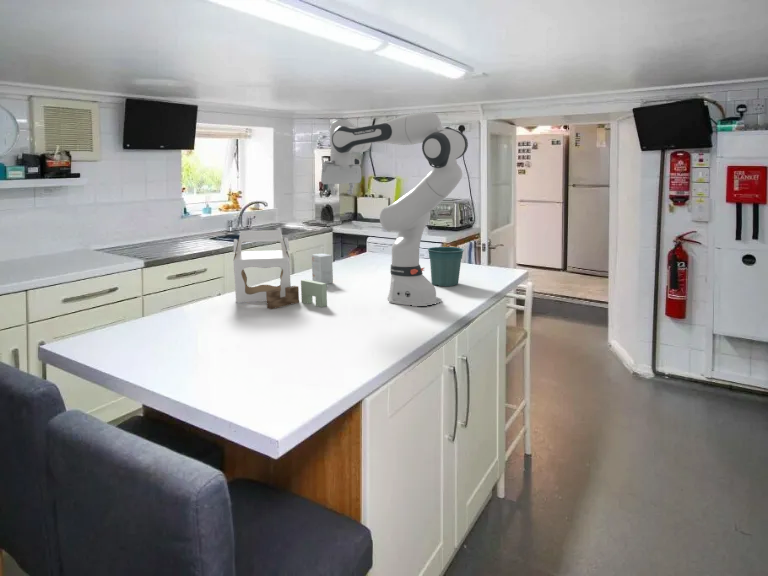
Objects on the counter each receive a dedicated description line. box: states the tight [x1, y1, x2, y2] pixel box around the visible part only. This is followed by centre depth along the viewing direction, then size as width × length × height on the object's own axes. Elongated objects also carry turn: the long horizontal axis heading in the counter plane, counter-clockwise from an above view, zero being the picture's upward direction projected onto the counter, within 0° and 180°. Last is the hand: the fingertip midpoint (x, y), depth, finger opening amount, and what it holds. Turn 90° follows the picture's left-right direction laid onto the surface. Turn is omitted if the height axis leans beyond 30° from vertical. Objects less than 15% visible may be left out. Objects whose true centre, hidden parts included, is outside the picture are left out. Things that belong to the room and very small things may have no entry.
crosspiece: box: [300, 279, 328, 308], centre depth 228 cm, size 12×2×9 cm, turn 49°
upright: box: [266, 285, 300, 310], centre depth 227 cm, size 14×2×6 cm, turn 139°
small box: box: [311, 253, 334, 285], centre depth 267 cm, size 8×6×13 cm
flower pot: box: [427, 246, 465, 287], centre depth 263 cm, size 16×16×16 cm
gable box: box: [233, 229, 292, 303], centre depth 237 cm, size 22×13×28 cm, turn 101°
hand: (342, 194), depth 242 cm, fingers open, 8 cm apart
